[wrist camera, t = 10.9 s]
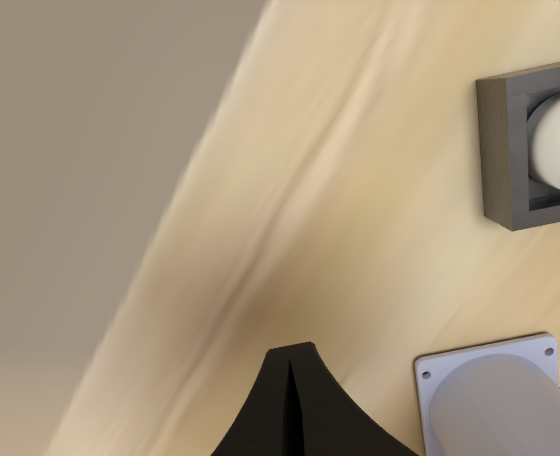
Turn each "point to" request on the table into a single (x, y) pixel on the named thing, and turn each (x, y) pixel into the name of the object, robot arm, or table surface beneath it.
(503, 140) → the button housing
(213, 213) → the table surface
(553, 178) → the button
